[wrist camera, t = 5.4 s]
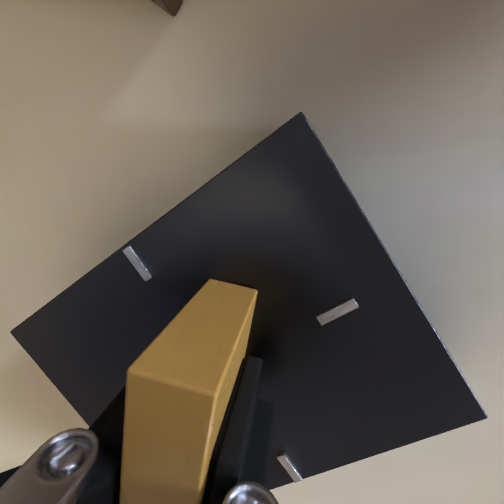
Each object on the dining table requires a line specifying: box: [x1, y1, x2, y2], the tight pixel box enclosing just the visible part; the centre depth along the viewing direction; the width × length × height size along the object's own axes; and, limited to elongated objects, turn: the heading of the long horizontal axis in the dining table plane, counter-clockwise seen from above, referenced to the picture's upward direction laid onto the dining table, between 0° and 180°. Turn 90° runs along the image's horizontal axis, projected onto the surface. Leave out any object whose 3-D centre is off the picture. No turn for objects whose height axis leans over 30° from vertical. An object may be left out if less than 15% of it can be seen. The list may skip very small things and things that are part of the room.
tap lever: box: [119, 279, 258, 504], centre depth 8 cm, size 8×2×5 cm, turn 170°
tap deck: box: [10, 112, 488, 490], centre depth 12 cm, size 15×12×3 cm
